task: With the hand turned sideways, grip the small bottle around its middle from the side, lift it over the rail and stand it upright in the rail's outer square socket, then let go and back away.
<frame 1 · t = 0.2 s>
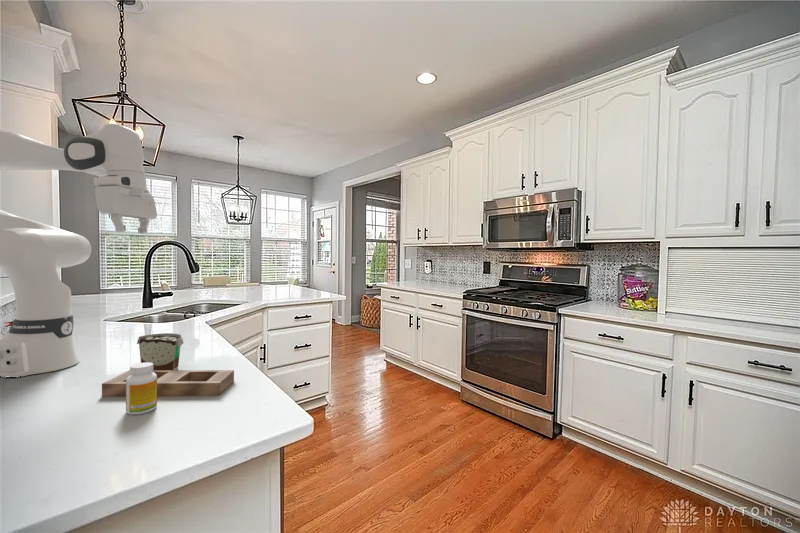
hand: (132, 232, 101), 39 cm above the counter, tool pointing down, fingers open, 8 cm apart
supplement bottle: (141, 410, 76), on the counter
food container: (165, 370, 101), on the counter
socket rail: (172, 388, 88), on the counter
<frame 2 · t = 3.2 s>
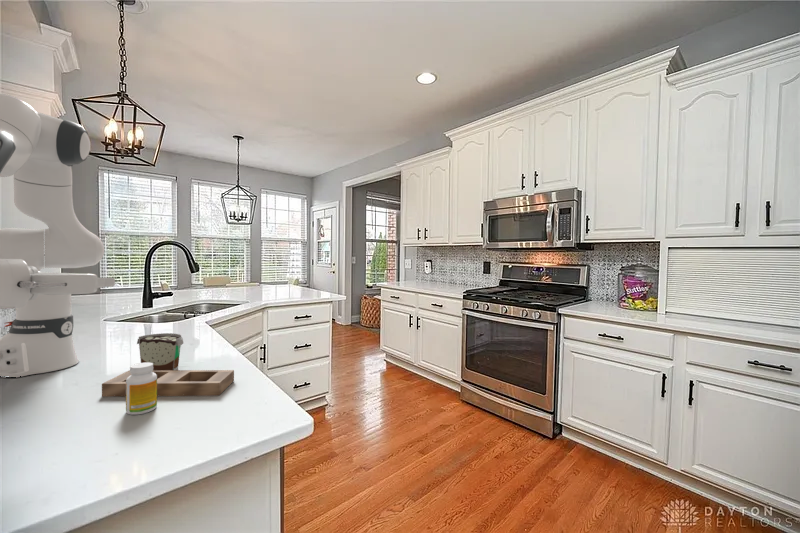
hand: (100, 281, 75), 27 cm above the counter, tool horizontal, fingers open, 8 cm apart
nothing on the counter moved.
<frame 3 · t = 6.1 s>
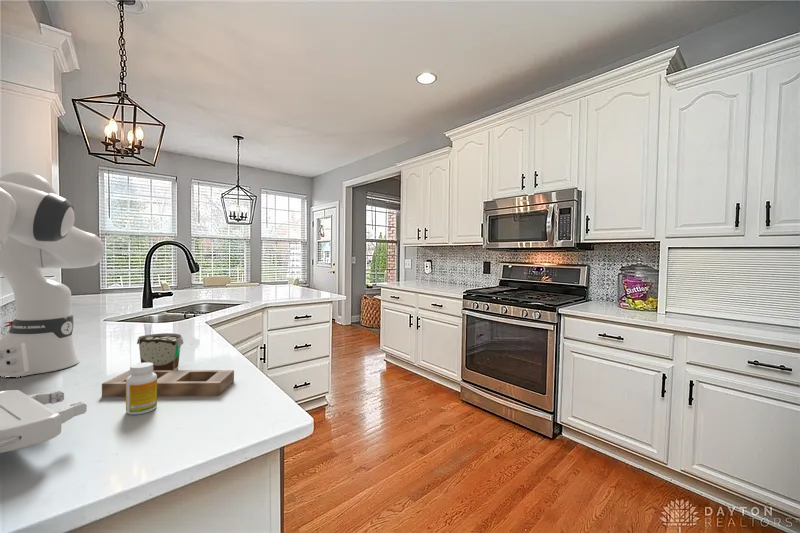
hand: (73, 400, 66), 6 cm above the counter, tool horizontal, fingers open, 8 cm apart
nothing on the counter moved.
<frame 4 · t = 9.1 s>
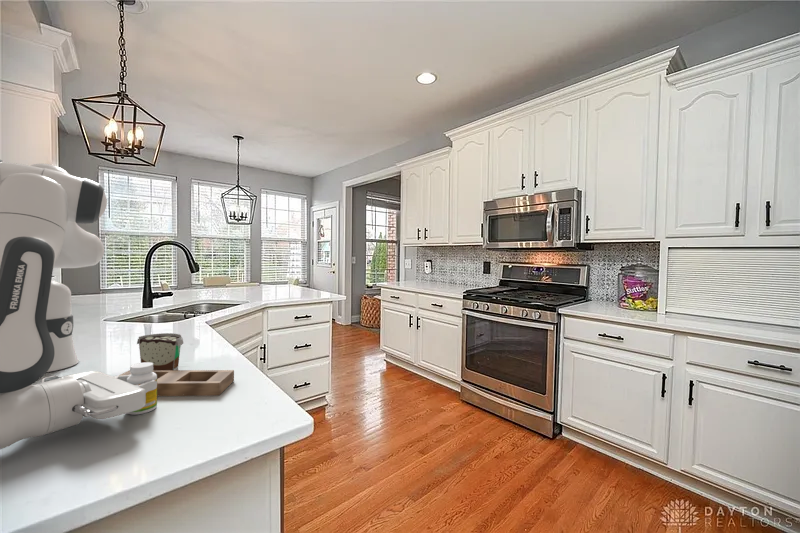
hand: (146, 380, 76), 6 cm above the counter, tool horizontal, fingers closed on supplement bottle, 5 cm apart
supplement bottle: (141, 410, 76), on the counter, touching gripper
everything else where it was.
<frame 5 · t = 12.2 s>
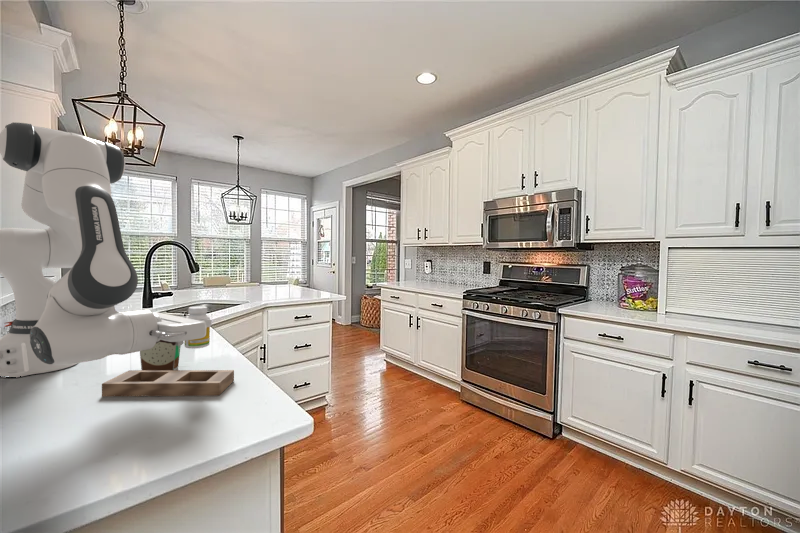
hand: (201, 321, 88), 17 cm above the counter, tool horizontal, fingers closed on supplement bottle, 5 cm apart
supplement bottle: (197, 346, 88), point 10 cm above the counter, touching gripper
everything else where it was.
when the fingers open (8 cm above the counter, at t = 15.2 s): supplement bottle drops 2 cm, resting in socket rail.
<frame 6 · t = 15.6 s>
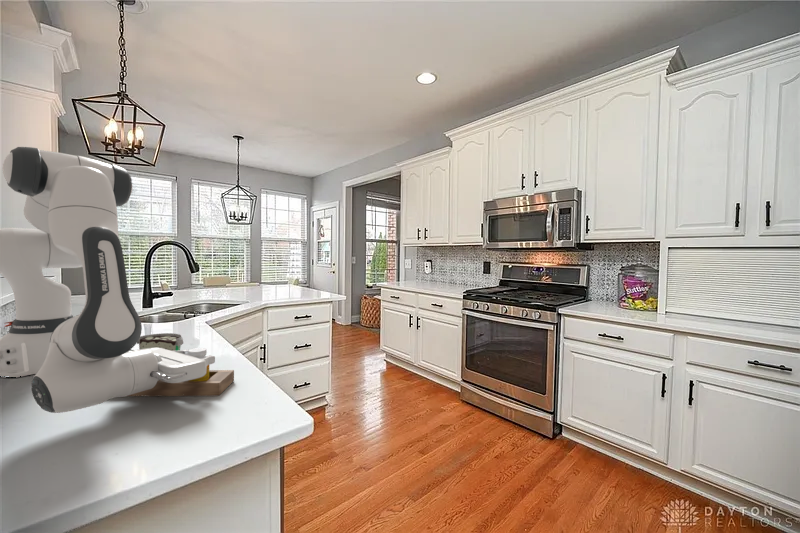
hand: (201, 355, 89), 8 cm above the counter, tool horizontal, fingers open, 8 cm apart
supplement bottle: (197, 389, 88), resting in socket rail
everything else where it was.
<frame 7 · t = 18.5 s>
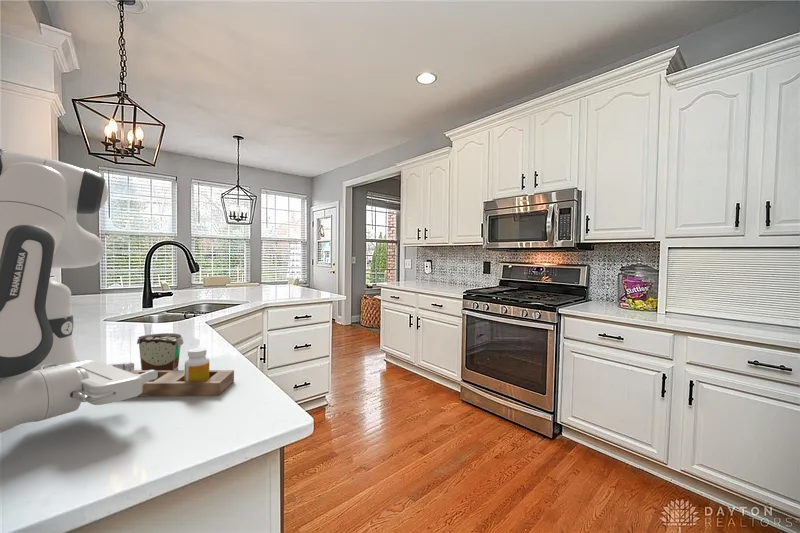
hand: (144, 369, 77), 8 cm above the counter, tool horizontal, fingers open, 8 cm apart
nothing on the counter moved.
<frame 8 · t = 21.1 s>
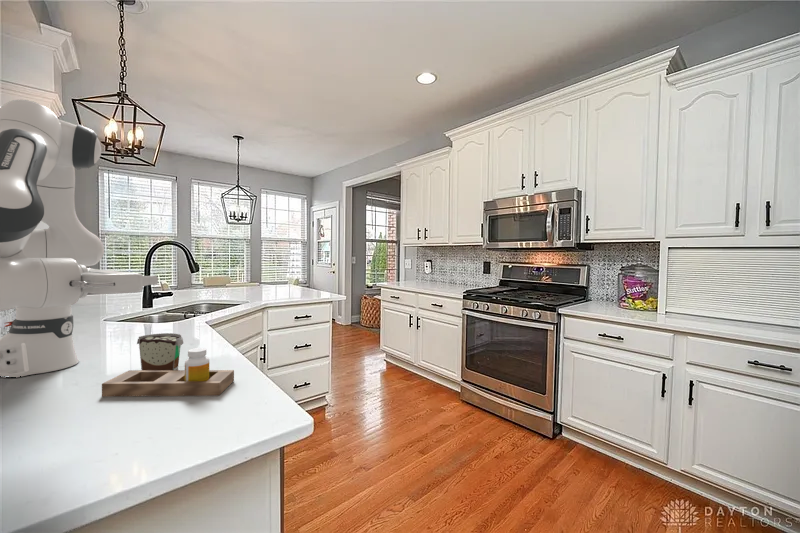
hand: (144, 278, 77), 28 cm above the counter, tool horizontal, fingers open, 8 cm apart
nothing on the counter moved.
at the end: supplement bottle 0.2 cm from the target spot on the socket rail, point 0.0 cm above the socket rail's base; supplement bottle tilted 0°; the gripper is holding nothing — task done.
